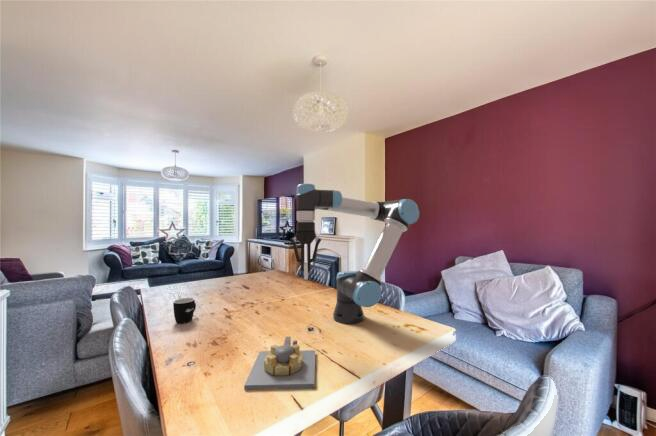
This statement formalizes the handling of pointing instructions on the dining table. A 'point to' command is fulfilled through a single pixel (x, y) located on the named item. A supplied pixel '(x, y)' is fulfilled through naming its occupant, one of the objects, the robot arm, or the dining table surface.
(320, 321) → the dining table surface
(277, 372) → the ring nut
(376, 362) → the dining table surface
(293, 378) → the hub plate
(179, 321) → the mug
